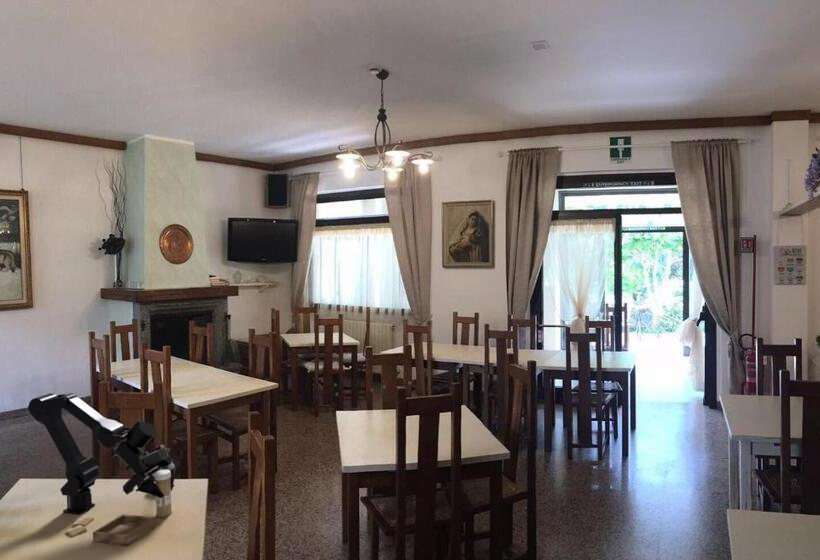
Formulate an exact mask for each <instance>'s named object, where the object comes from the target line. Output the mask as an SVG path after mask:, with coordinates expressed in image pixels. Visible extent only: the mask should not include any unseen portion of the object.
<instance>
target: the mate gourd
mask: <svg viewBox="0 0 820 560" xmlns="http://www.w3.org/2000/svg"><path fill="white" fill-rule="evenodd" d="M167 449H168V452H167V453H166V454H167V455H169V451H170V450H171V448H170V447H169V448H167ZM167 470H170V472H171V477H170V483H171V485H172V488H174V487H175V485H174V482H175V477H176V471H177V468H176V466H175V464H174V463H173V461H172V462H171V463H170V464H169V467H168V468H167Z"/></svg>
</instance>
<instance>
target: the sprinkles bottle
mask: <svg viewBox="0 0 820 560" xmlns="http://www.w3.org/2000/svg"><path fill="white" fill-rule="evenodd" d="M170 477H171V472H170V470H160V471H157V472H156V473H155V482H154V483H155V484H156V485H157V486H158V488H159V489H160V490H161V491H162V493H163V494H164V496H163V497H162V498H160V497H157V496H155V506H156V514H155V515H156V516H157V517H159V518H160V517H161V518H162V517H168V516H169V515H171V514H172V513H173V510H172V491H171V488H170Z"/></svg>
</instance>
